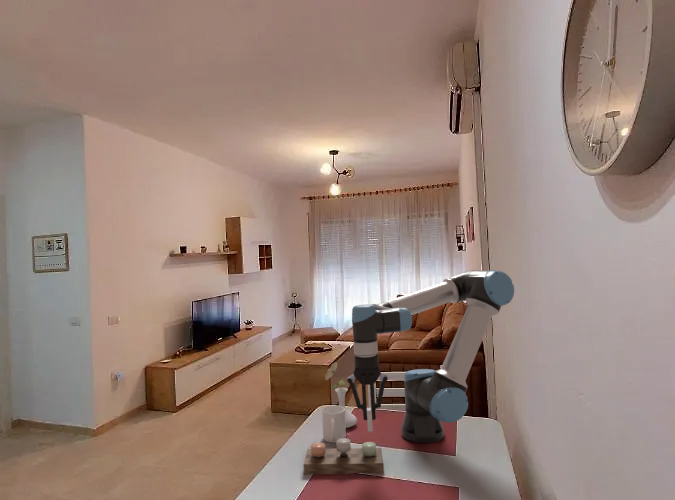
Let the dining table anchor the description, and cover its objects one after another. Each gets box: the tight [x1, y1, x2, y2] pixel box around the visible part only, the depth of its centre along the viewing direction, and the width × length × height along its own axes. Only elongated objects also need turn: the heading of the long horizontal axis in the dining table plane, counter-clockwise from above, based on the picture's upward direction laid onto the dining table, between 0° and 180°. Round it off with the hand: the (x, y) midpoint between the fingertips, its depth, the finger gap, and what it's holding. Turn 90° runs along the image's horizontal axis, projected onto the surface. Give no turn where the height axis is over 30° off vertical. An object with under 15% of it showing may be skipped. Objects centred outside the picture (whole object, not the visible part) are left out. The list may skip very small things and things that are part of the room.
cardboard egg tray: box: [303, 447, 385, 475], centre depth 127 cm, size 24×10×3 cm, turn 88°
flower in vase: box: [324, 361, 358, 429], centre depth 159 cm, size 13×11×25 cm
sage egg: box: [361, 441, 377, 457], centre depth 127 cm, size 4×4×4 cm
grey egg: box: [335, 437, 352, 456], centre depth 127 cm, size 4×4×4 cm
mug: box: [321, 405, 347, 444], centre depth 145 cm, size 12×8×10 cm
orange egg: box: [310, 442, 326, 458], centre depth 128 cm, size 4×4×4 cm
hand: (370, 429), depth 127 cm, fingers closed
